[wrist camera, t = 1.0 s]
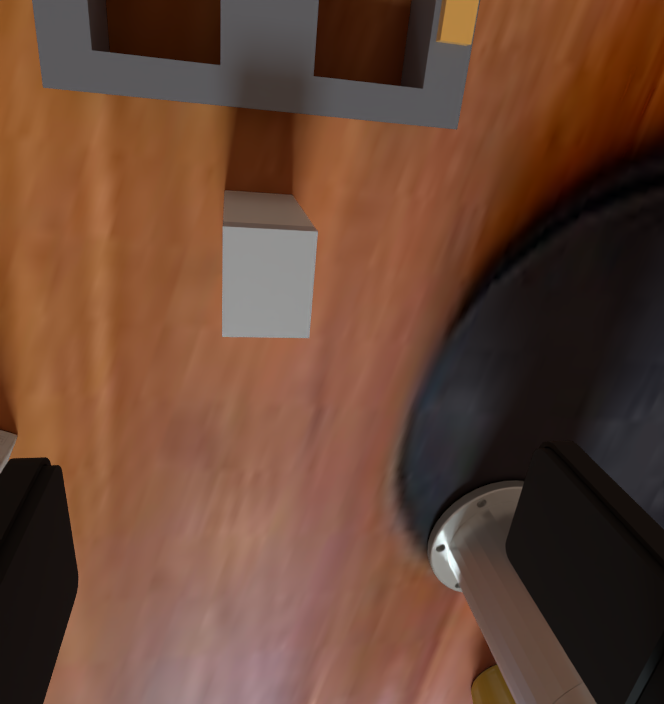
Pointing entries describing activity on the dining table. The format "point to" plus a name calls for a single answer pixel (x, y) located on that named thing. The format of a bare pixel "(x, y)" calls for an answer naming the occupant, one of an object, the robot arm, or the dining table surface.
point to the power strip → (266, 62)
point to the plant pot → (491, 688)
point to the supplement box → (6, 447)
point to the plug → (267, 266)
